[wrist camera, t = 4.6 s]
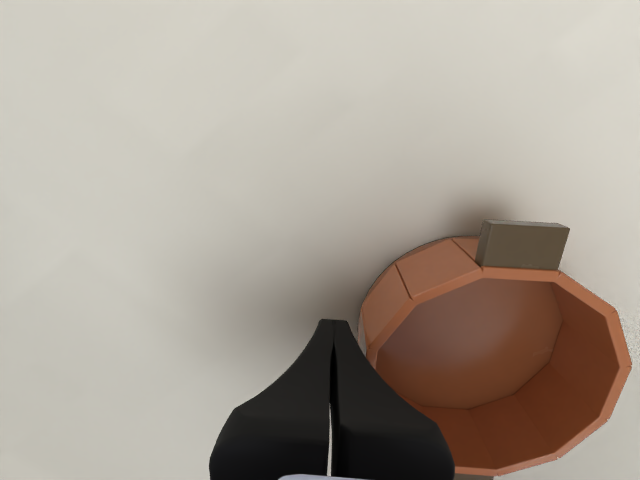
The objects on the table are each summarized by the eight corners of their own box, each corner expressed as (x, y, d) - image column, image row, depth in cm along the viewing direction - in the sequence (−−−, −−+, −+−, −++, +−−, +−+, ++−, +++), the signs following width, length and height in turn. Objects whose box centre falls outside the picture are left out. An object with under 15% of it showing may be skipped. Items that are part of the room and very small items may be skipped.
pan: (349, 419, 17) (351, 489, 14) (369, 197, 13) (380, 218, 10) (524, 432, 17) (571, 507, 13) (599, 208, 13) (690, 235, 10)
